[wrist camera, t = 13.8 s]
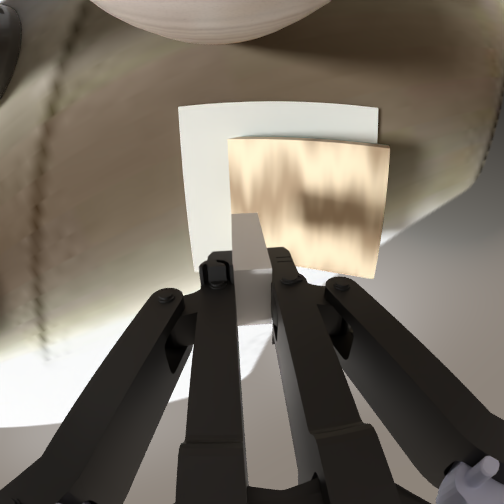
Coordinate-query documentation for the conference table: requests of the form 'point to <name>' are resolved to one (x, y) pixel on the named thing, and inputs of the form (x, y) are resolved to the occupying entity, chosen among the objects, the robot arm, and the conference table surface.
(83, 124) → the conference table surface
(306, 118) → the mat
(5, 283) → the conference table surface
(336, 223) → the block
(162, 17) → the vase
